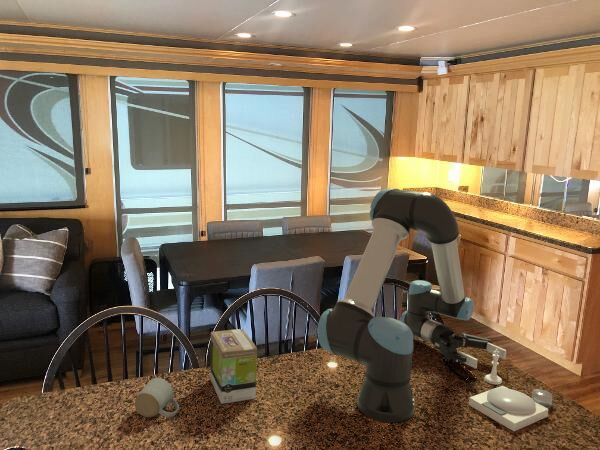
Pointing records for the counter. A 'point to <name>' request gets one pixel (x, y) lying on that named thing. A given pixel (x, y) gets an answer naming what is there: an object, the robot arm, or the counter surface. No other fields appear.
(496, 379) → the chess piece
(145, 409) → the ceramic mug
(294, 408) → the counter surface
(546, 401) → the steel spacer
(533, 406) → the scale
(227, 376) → the tea box
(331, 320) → the robot arm
